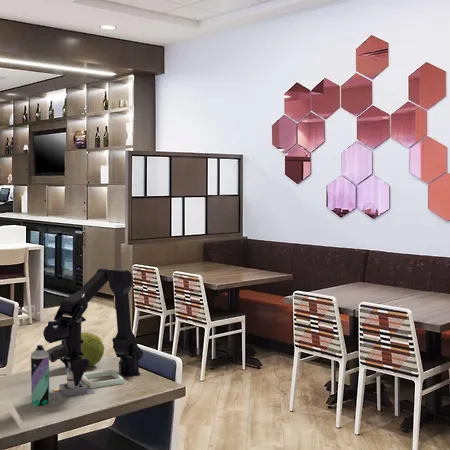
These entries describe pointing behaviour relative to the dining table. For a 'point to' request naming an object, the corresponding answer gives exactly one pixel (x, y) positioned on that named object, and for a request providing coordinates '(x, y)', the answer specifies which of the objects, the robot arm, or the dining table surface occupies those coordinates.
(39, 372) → the spray can
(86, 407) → the dining table surface
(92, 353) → the fruit
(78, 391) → the holder
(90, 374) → the tray
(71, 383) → the cylinder
